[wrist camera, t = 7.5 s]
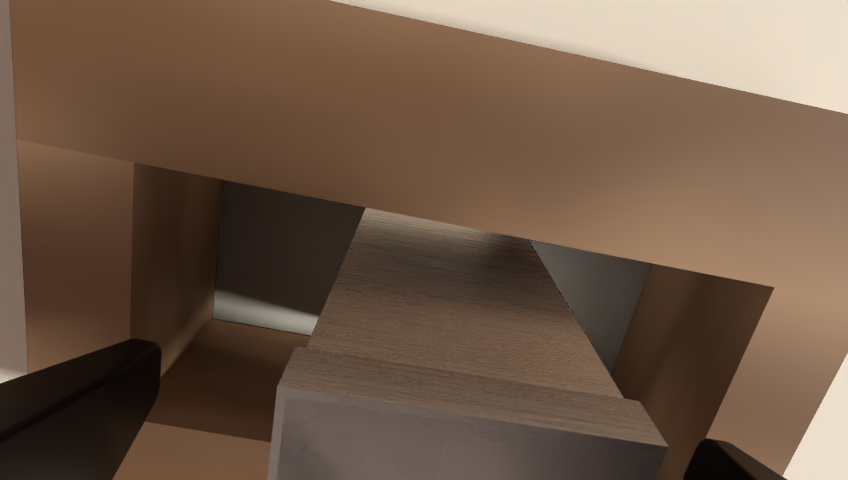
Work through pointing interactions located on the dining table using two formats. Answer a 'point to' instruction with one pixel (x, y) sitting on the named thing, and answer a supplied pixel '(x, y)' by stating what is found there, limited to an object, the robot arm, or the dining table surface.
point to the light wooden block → (452, 370)
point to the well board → (416, 203)
